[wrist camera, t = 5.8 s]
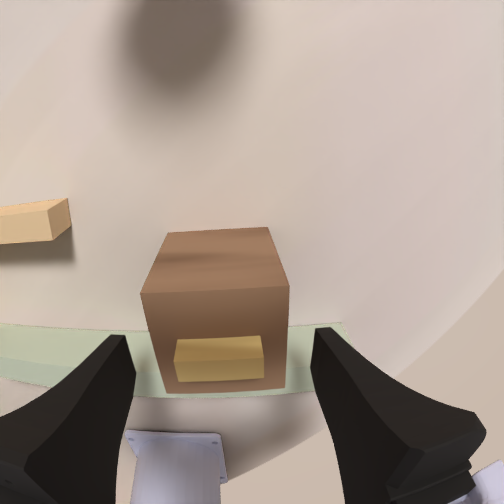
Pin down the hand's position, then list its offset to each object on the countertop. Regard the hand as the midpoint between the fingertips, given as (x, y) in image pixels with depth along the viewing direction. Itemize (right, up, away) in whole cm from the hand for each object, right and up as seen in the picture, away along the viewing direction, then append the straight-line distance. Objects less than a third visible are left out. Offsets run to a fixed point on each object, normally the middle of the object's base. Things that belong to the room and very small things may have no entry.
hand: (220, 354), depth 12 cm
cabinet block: (0, +3, +5) cm, 6 cm away
